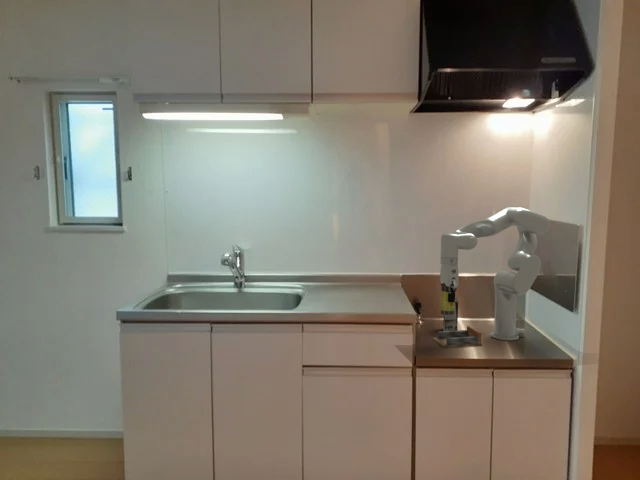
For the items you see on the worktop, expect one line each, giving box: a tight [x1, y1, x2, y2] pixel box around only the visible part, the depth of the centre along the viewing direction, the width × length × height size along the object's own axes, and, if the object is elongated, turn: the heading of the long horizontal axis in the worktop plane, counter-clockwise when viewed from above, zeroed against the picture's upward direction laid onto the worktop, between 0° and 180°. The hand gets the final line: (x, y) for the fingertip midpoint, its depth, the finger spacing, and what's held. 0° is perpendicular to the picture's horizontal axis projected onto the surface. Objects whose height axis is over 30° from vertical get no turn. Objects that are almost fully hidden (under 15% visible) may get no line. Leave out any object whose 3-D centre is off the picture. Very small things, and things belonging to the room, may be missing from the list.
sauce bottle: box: [440, 283, 455, 316], centre depth 214 cm, size 6×6×20 cm
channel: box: [432, 325, 483, 349], centre depth 218 cm, size 18×12×6 cm, turn 99°
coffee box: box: [442, 297, 459, 331], centre depth 233 cm, size 9×6×16 cm
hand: (448, 299), depth 215 cm, fingers closed on sauce bottle, 6 cm apart
